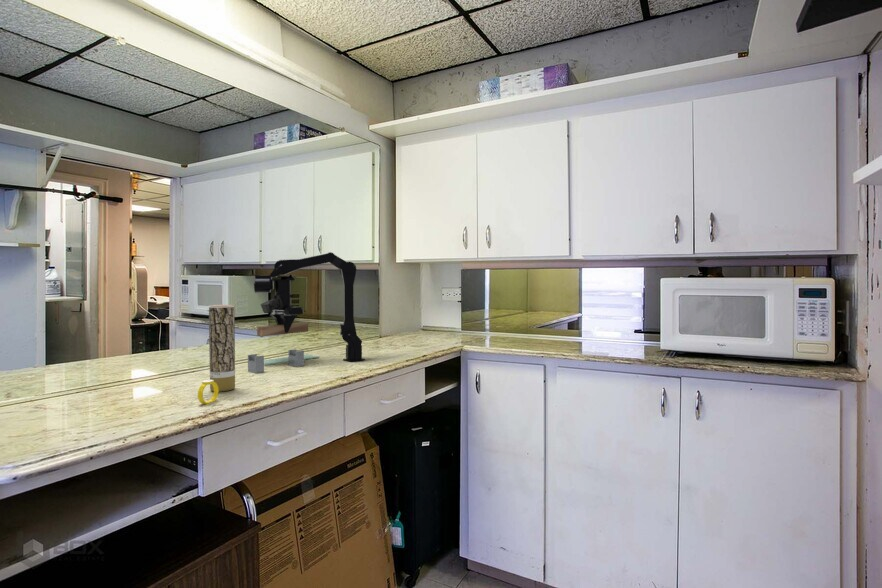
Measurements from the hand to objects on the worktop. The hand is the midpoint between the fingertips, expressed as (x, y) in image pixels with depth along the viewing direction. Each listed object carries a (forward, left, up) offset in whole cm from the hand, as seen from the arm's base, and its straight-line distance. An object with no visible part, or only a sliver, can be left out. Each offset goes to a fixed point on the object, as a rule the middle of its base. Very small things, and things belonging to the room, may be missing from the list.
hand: (283, 332), depth 183 cm
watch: (-39, +45, -12) cm, 61 cm away
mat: (+5, -4, -12) cm, 14 cm away
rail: (0, 0, -1) cm, 1 cm away
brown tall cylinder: (-27, +36, -12) cm, 46 cm away
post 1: (-8, +16, -12) cm, 21 cm away
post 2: (-8, 0, -12) cm, 15 cm away
